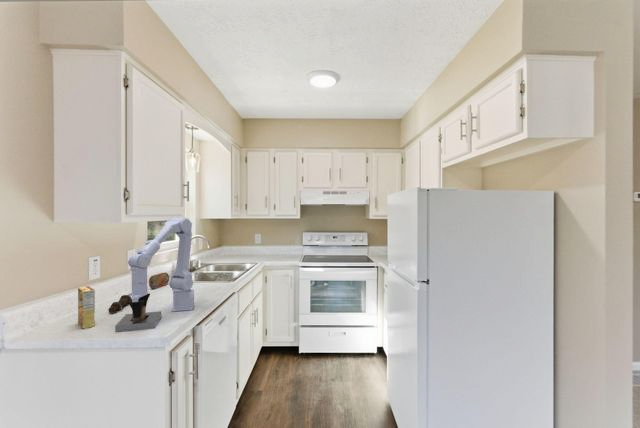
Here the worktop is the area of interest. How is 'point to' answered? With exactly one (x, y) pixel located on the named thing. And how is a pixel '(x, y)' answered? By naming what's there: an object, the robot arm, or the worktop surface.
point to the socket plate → (138, 322)
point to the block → (143, 315)
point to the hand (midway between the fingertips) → (139, 314)
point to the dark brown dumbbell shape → (120, 303)
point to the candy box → (86, 307)
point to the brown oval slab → (158, 280)
